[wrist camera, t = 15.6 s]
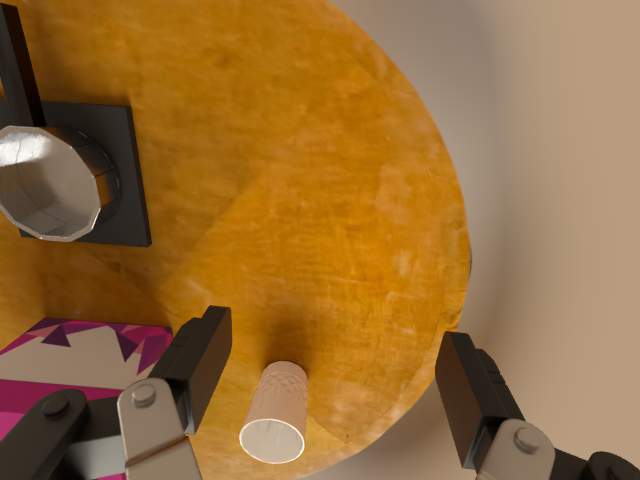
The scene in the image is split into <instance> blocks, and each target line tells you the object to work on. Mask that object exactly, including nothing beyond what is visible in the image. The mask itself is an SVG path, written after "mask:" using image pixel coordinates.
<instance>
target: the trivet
mask: <svg viewBox="0 0 640 480" xmlns="http://www.w3.org/2000/svg"><path fill="white" fill-rule="evenodd" d="M41 104H42V108H43V112H44V116H45V120H46V123H62V124H66V125H70V126H73V127H75V128H78V129H80V130H82V131H83V132H85V133H87V134H88V135H90V136H91V137H93V138H94V139H95V140H96V141H97V142H98V143H99V144H100V145H101V146H102V147H103V148H104V149H105V150H106V151H107V153H108V154H109V155H110V157H111V158H112V160H113V161H114V163H115V165H116V167H117V170H118V172H119V175H120V179H121V184H122V198H121V203H120V206H119V208H118V210H117V212H116V213H115V215H114V216H113V217H112V219H111V220H110V221H108V222H106V223H104V224H103V225H101V226H99V227H97V228H96V229H94V230H92V231H90V232H88V233H87V234H85V235H83V236H81V237H79V238H77V239H75V240H73V241H77V242H89V243H101V244H113V245H125V246H137V247H149V246H150V245H151V244H152V242H151V236H150V229H149V223H148V216H147V210H146V203H145V197H144V190H143V184H142V177H141V171H140V164H139V158H138V151H137V145H136V138H135V132H134V125H133V119H132V112H131V107H128V106H113V105H98V104H83V103H69V102H54V101H41ZM11 125H14V124H13V120H12V117H11V113H10V110H9V106H8V103H7V99H6V98H0V131H1V130H2V129H4V128H5V127H7V126H11ZM18 228H19V227H18ZM19 231H20V234H21V237H29V238H37V237H35V236H33V235H32V234H30V233H28V232H26V231H24V230H22V229H20V228H19Z"/></svg>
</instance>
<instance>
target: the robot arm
mask: <svg viewBox="0 0 640 480" xmlns="http://www.w3.org/2000/svg"><path fill="white" fill-rule="evenodd" d="M231 347H232V319H231V309H230V307H221V306H212V305H210V306H209V307H208V308H207V310H206V311H205V313H204V315H203V316H202V318H195V317H193V318H192V319H191V320H189V321H188V322H186V323H185V324H184V325H182V326H181V328H180V329H179V331H178V332H177V334H176V335H175V338H173V340H172V341H171V342H170V344H169V346H168V347H167V348H166V350H165V351H164V353H163V354H162V356H161V357H160V359H159V360H158V362H157V363H156V364H155V366H154V367H153V369H152V370H151V372H150V373H149V375H148V376H147V378H145V379H142V380H139V381H136V382H134V383H132V384H131V385H129V386H128V387H127V388H126V389H124V391H123V392H122V393H121V394H120V395H119V396H115V397H109V398H102V399H96V400H89V401H87V398H86V395H85V393H84V392H82V391H81V390H78V389H62V390H58V391H55V392H53V393H50V394H48V395H46V396H44V397H43V398H41V399H40V400H38V401H37V402H36V403H35V404H34V405H33V406H32V407H31V408H30V409H29V410H28V411H27V412H26V413H25V414H24V415H23V416H22V418H21V419H20V420H19V421H18V422H17V423H16V424H15V425H14V426H13V428H12V429H11V430H10V431H9V432H8V433H7V434H6V435H5V436H4V438H3V439H2V440H1V441H0V480H98V478H101V477H106V476H111V475H115V474H120V473H126V480H203V479H202V476H201V473H200V470H199V467H198V464H197V461H196V458H195V455H194V452H193V448H192V445H191V442H190V440H189V437H188V436H185V434H192V435H195V434H196V432H197V429H198V427H199V425H200V423H201V420H202V418H203V416H204V413H205V411H206V409H207V406H208V404H209V402H210V399H211V397H212V395H213V393H214V390H215V388H216V386H217V383H218V381H219V379H220V376H221V374H222V372H223V369H224V367H225V365H226V363H227V360H228V358H229V355H230V352H231ZM435 377H436V382H437V385H438V388H439V392H440V395H441V399H442V402H443V405H444V409H445V412H446V415H447V418H448V422H449V425H450V429H451V432H452V435H453V439H454V442H455V446H456V449H457V452H458V456H459V459H460V462H461V466H462V468H465V469H474V470H476V473H477V476H476V479H475V480H640V470H639V469H638V468H636V467H635V466H634V465H633V464H631V463H630V462H628V461H627V460H625V459H623V458H621V457H619V456H617V455H614V454H612V453H608V452H602V451H601V452H595V453H593V454H592V455H591V457H590V458H589V460H588V461H587V460H584V459H581V458H579V457H576V456H574V455H571V454H569V453H566V452H563V451H561V450H558V449H556V448H554V447H553V445H552V443H551V441H550V440H549V439H548V437H547V436H546V435H545V434H544V433H543V432H542V431H540V430H539V429H538V428H537V427H535V426H533V425H532V424H530V423H528V422H526V421H525V419H524V417H523V415H522V413H521V411H520V409H519V407H518V405H517V404H516V402H515V400H514V398H513V396H512V394H511V392H510V390H509V388H508V386H507V385H505V381H504V379H503V377H502V375H500V371H499V369H498V367H497V365H496V364H495V362H494V360H493V359H492V358H491V357H490V356H489V355H488V354H487V353H486V352H485V351H484V350H483V349H476V348H475V346H474V344H473V342H472V340H471V338H470V336H469V335H468V334H467V333H459V332H450V331H446V332H445V333H444V336H443V339H442V343H441V346H440V350H439V353H438V357H437V360H436V365H435Z"/></svg>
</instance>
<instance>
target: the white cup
mask: <svg viewBox="0 0 640 480" xmlns="http://www.w3.org/2000/svg"><path fill="white" fill-rule="evenodd" d="M307 389H308V378H307V375H306V372H305V371H304V370H303V369H302V368H301V367H300V366H299V365H296V364H294V363H292V362H288V361H277V362H274V363H271V364H269V365H268V366H267V367H266V368H265V369H264V370H263V373H262V376H261V379H260V382H259V384H258V386H257V388H256V390H255V393H254V396H253V398H252V401H251V403H250V406H249V409H248V412H247V415H246V417H245V420H244V423H243V426H242V429H241V431H240V435H239V440H240V444H241V446H242V448H243V449H244V450H245V451H246V452H247V453H248V454H249V455H250V456H252V457H254V458H255V459H258V460H260V461H263V462H267V463H275V464H278V463H286V462H290V461H292V460H294V459H296V458H297V457H299V456H300V455H301V453H302V452H303V450H304V446H305V432H306V418H307Z"/></svg>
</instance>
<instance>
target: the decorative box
mask: <svg viewBox="0 0 640 480" xmlns="http://www.w3.org/2000/svg"><path fill="white" fill-rule="evenodd" d="M172 340H173V334H172V328H168V327H155V326H142V325H129V324H116V323H103V322H90V321H77V320H64V319H51V318H43V319H42V320H41V321H39V322H38V323H37V324H36V325H34V326H33V327H32V328H30V329H29V330H28V331H26V332H25V333H24V334H23V335H21V336H20V337H19V338H17V339H16V340H15V341H13V342H12V343H11V344H9V345H8V346H7V347H6V348H4V349H3V350H2V351H0V441H1V440H2V439H3V438H4V436H5V435H6V434H7V433H8V432H9V431H10V430H11V429H12V428H13V426H14V425H15V424H16V423H17V422H18V421H19V420H20V419H21V418H22V416H23V415H24V414H25V413H26V412H27V411H28V410H29V409H30V408H31V407H32V406H33V405H34V404H35V403H36V402H37V401H38V400H40V399H41V398H43V397H44V396H46V395H48V394H50V393H53V392H55V391H58V390H62V389H78V390H81V391H82V392H84V393H85V395H86V398H87V401H89V400H96V399H102V398H109V397H115V396H119V395H120V394H121V393H122V392H123V391H124V389H126V388H127V387H128V386H129V385H131V384H132V383H134V382H136V381H139V380H142V379H145V378H147V376H148V375H149V373H150V372H151V370H152V369H153V367H154V366H155V364H156V363H157V362H158V360H159V359H160V357H161V356H162V354H163V353H164V351H165V350H166V348H167V347H168V346H169V344H170V342H171V341H172ZM98 480H126V473H120V474H115V475H111V476H106V477H101V478H98Z"/></svg>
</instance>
